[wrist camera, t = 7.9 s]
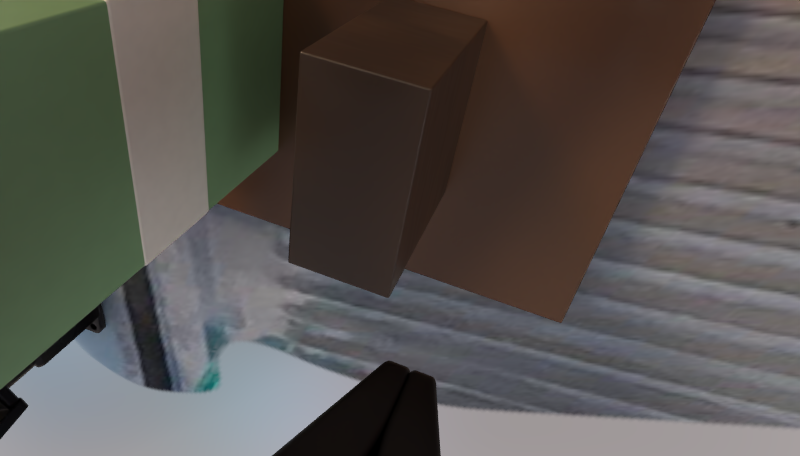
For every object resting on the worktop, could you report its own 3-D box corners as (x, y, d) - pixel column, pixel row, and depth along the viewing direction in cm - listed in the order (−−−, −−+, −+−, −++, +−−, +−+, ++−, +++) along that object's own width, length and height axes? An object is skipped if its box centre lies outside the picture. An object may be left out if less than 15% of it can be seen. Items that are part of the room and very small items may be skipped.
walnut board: (83, 148, 25) (-57, 224, 20) (2, -255, 17) (-271, -302, 12) (562, 313, 22) (542, 458, 16) (757, -97, 13) (841, -65, 8)
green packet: (233, 113, 23) (-176, 191, 16) (230, -79, 19) (-331, -97, 11) (378, 238, 18) (-125, 442, 11) (417, 13, 14) (-373, 91, 6)
